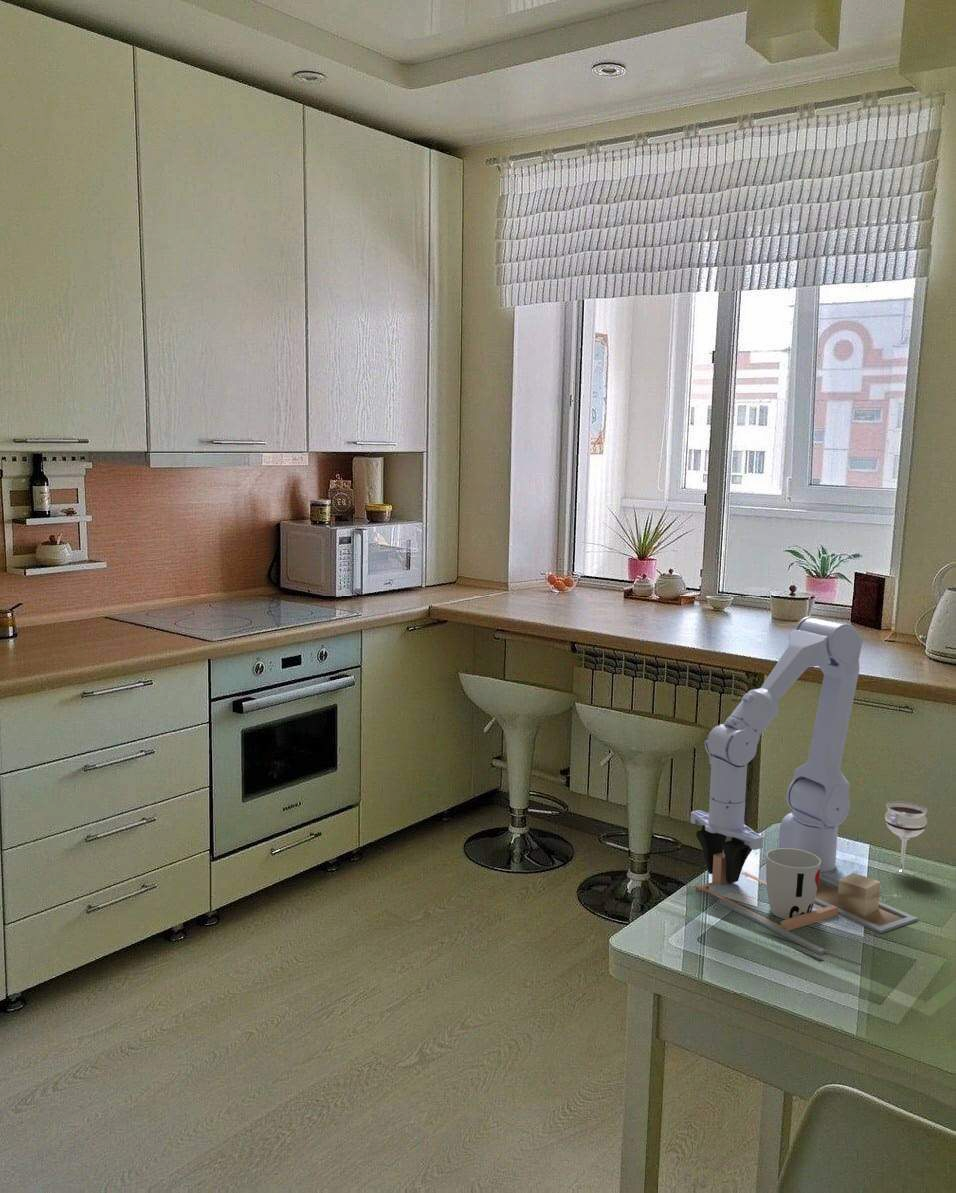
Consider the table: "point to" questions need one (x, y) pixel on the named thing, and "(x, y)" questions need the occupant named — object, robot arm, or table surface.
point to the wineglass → (905, 823)
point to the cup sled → (787, 924)
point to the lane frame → (906, 917)
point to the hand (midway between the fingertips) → (723, 877)
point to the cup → (791, 881)
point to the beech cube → (858, 894)
